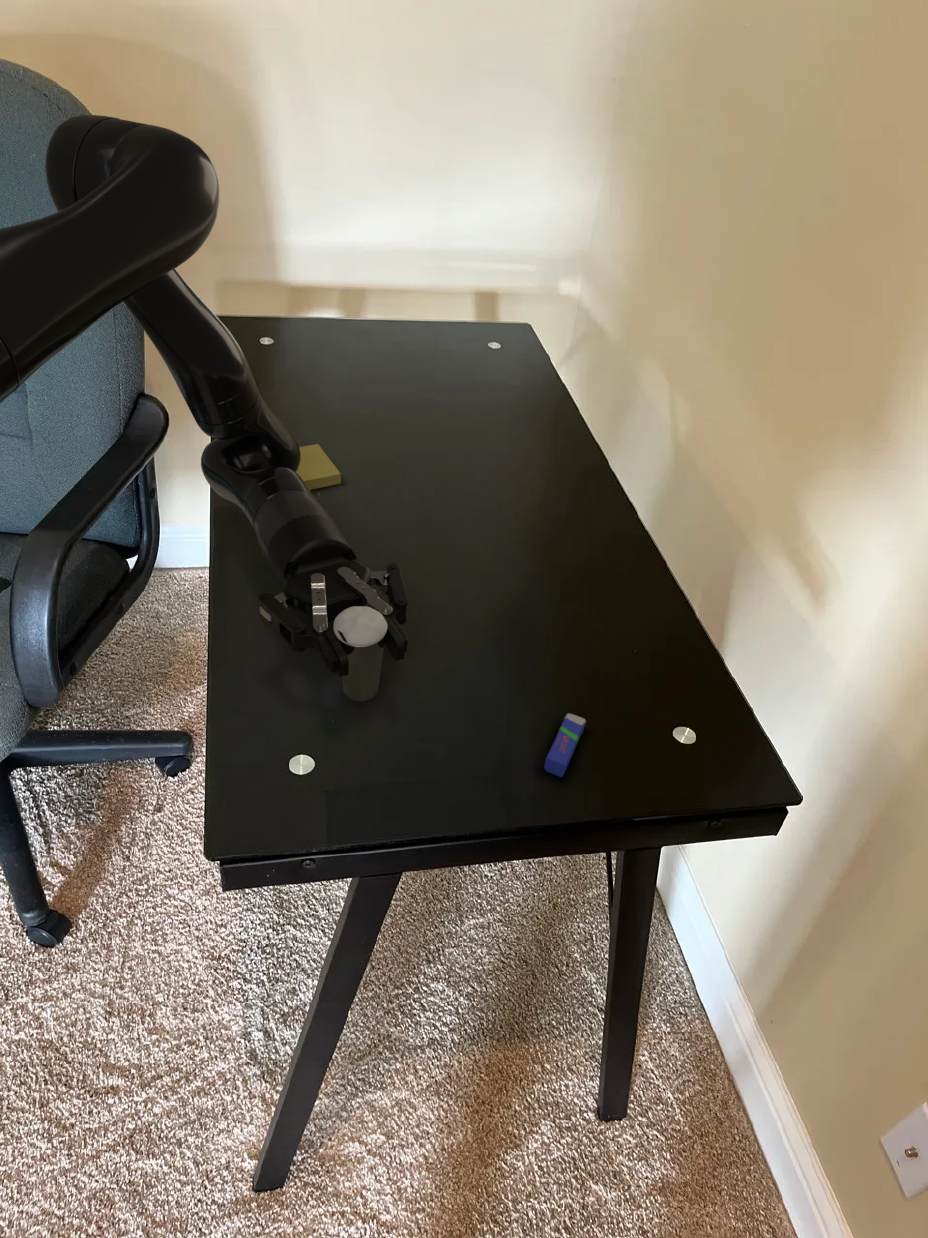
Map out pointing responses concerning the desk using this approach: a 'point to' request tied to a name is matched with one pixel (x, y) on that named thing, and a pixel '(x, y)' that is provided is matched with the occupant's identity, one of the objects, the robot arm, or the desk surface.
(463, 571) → the desk surface
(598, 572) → the desk surface
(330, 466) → the note pad
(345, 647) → the milkshake
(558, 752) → the eraser
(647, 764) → the desk surface
